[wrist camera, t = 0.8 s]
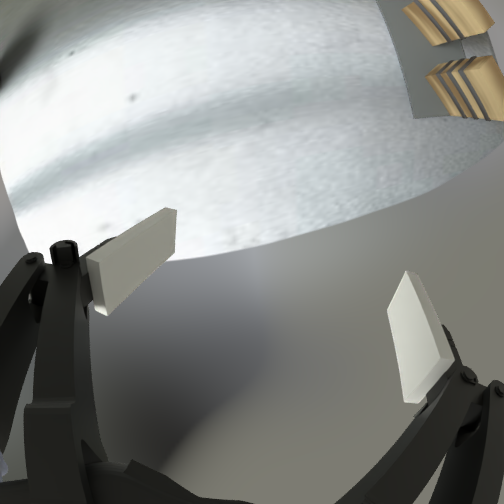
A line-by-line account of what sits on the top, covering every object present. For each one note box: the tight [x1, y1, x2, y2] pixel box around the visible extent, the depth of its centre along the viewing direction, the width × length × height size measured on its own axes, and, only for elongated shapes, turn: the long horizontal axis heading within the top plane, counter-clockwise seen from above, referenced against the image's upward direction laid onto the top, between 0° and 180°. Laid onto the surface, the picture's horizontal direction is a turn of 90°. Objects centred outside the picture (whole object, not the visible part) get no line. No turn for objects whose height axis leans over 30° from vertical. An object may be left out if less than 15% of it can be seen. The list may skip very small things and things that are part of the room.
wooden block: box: [401, 0, 495, 46], centre depth 18 cm, size 4×7×12 cm, turn 46°
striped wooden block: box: [425, 56, 504, 121], centre depth 22 cm, size 4×7×12 cm, turn 46°
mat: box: [376, 0, 466, 119], centre depth 23 cm, size 30×14×1 cm, turn 16°
